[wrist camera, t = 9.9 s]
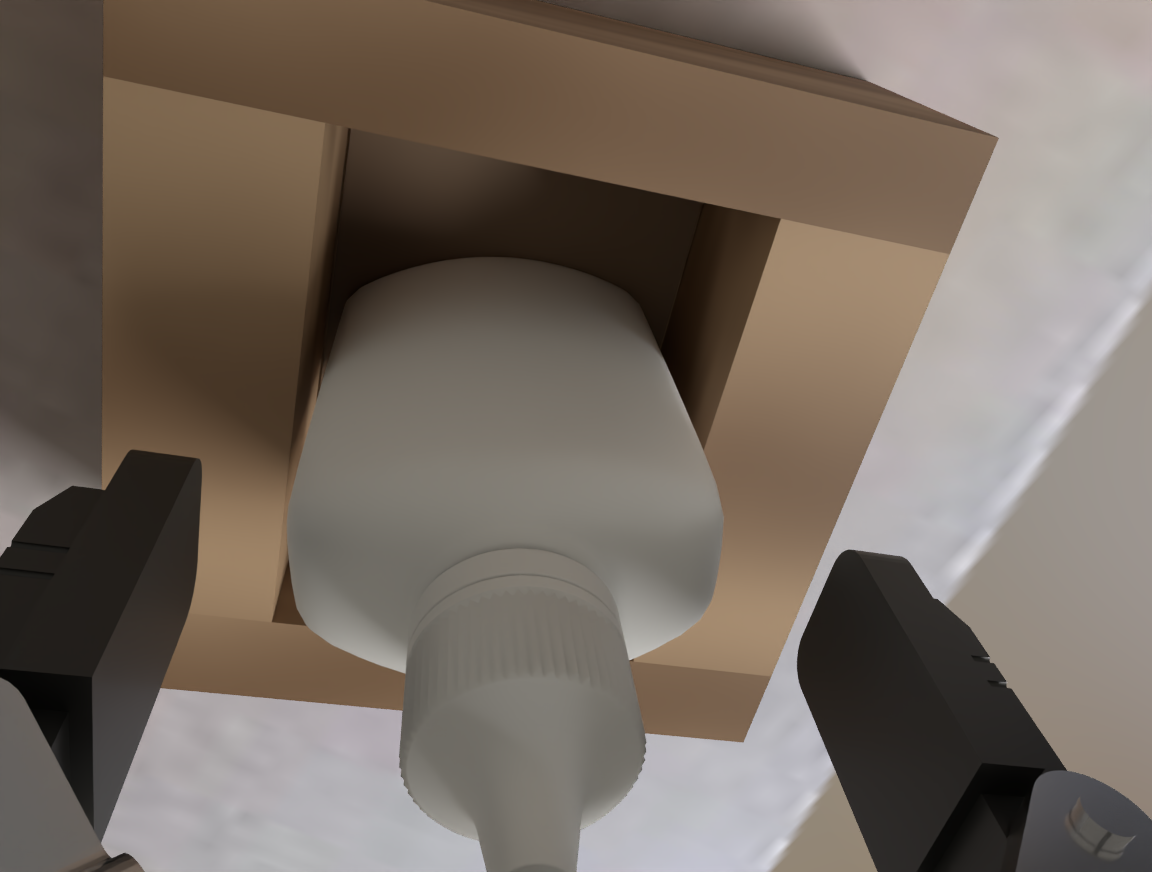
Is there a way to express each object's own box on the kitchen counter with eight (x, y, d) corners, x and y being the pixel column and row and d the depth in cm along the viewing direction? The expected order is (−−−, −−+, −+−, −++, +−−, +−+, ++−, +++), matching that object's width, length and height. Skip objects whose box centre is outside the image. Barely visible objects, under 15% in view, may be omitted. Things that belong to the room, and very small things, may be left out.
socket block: (203, -82, 16) (104, -77, 11) (869, 82, 18) (998, 137, 14) (176, 522, 21) (101, 682, 17) (691, 587, 23) (743, 742, 19)
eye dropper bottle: (558, 481, 20) (659, 1091, 10) (310, 362, 18) (110, 959, 8) (674, 313, 19) (943, 827, 8) (416, 164, 17) (339, 585, 6)
